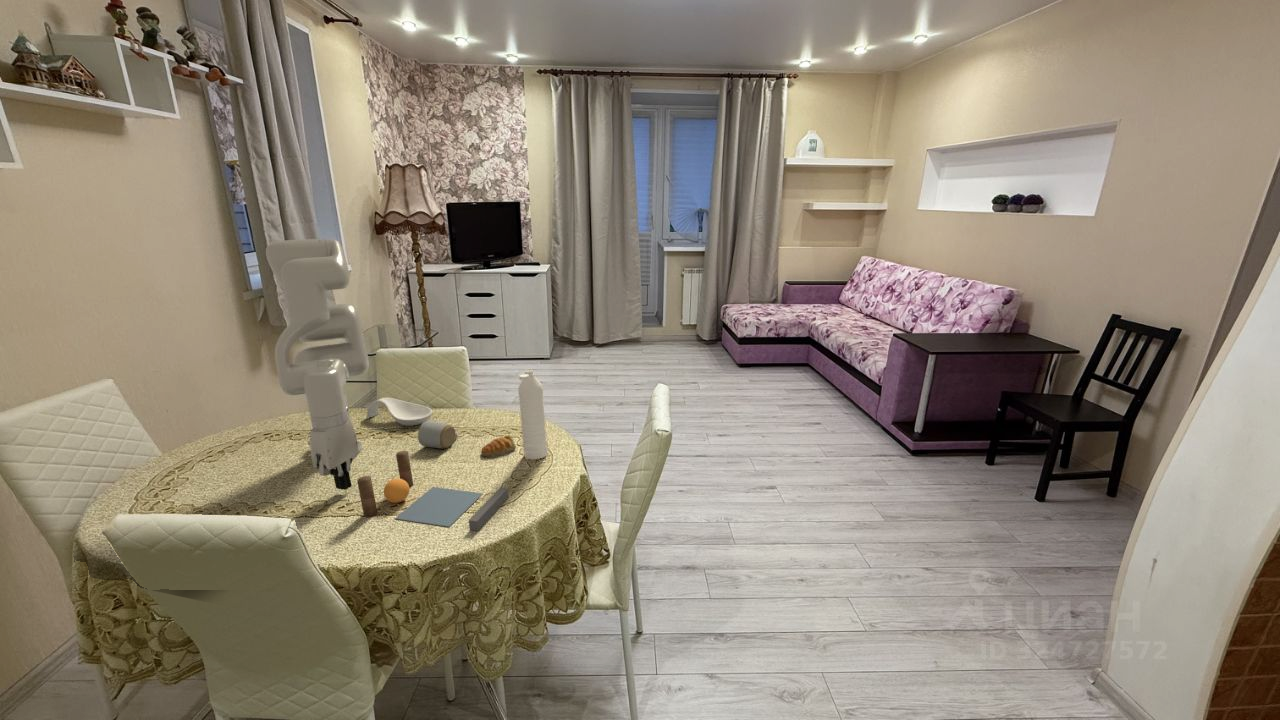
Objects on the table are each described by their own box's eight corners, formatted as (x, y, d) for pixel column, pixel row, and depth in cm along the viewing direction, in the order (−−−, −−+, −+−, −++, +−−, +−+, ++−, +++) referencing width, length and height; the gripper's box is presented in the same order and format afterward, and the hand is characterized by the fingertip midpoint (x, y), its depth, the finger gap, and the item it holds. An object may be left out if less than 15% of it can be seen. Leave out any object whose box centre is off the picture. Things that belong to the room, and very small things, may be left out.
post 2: (398, 487, 132) (393, 455, 130) (406, 482, 135) (401, 450, 132) (408, 489, 132) (403, 456, 129) (415, 483, 134) (410, 451, 132)
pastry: (488, 461, 146) (487, 448, 145) (477, 453, 150) (475, 441, 149) (518, 450, 152) (517, 438, 151) (506, 443, 156) (505, 431, 155)
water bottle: (528, 449, 152) (521, 366, 144) (550, 450, 151) (544, 367, 144) (518, 463, 143) (510, 376, 136) (541, 464, 143) (534, 377, 135)
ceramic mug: (443, 453, 150) (440, 428, 148) (418, 450, 152) (415, 425, 150) (464, 438, 160) (462, 415, 158) (441, 435, 162) (438, 412, 160)
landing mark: (395, 519, 119) (394, 518, 119) (432, 487, 132) (432, 486, 132) (449, 527, 116) (449, 526, 116) (482, 494, 129) (482, 493, 129)
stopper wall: (469, 530, 114) (468, 520, 114) (501, 496, 127) (500, 487, 127) (478, 531, 114) (476, 521, 113) (508, 497, 127) (507, 488, 126)
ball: (378, 504, 124) (377, 483, 123) (394, 491, 130) (393, 472, 128) (399, 509, 123) (398, 489, 122) (414, 497, 129) (414, 477, 127)
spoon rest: (440, 418, 176) (438, 398, 174) (415, 432, 165) (412, 411, 163) (384, 410, 183) (381, 391, 181) (357, 423, 172) (353, 403, 170)
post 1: (361, 516, 120) (354, 481, 118) (369, 509, 123) (363, 475, 120) (371, 518, 120) (364, 482, 117) (380, 511, 122) (373, 476, 120)
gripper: (341, 406, 132) (353, 471, 138) (290, 430, 119) (306, 502, 124) (366, 408, 131) (378, 474, 136) (317, 433, 117) (332, 505, 122)
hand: (343, 487), depth 130 cm, fingers closed
